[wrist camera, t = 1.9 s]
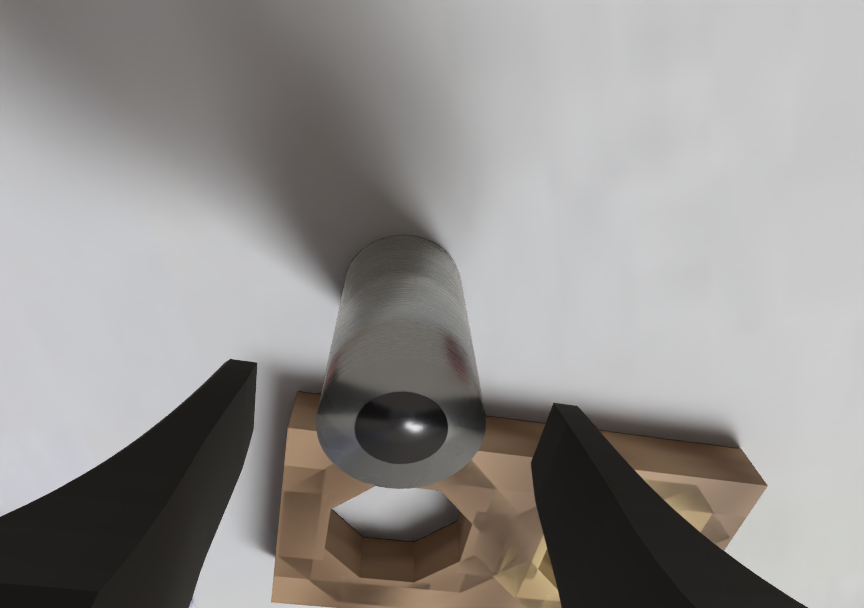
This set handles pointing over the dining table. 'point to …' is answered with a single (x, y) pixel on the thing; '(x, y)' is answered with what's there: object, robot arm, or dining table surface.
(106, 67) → the dining table surface
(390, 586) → the jig plate
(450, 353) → the bushing
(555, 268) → the dining table surface
